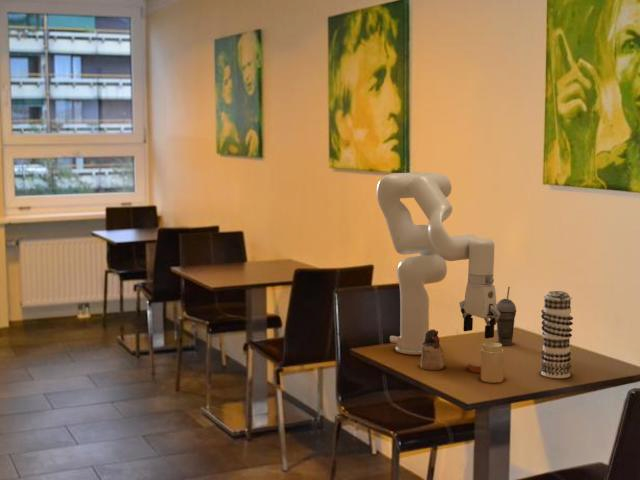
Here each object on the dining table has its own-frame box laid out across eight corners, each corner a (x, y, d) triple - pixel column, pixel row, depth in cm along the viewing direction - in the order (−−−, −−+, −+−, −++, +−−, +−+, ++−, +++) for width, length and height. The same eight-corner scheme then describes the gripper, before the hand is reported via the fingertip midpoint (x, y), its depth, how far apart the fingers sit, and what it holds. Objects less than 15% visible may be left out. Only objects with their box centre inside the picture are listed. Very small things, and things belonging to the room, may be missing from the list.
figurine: (437, 363, 282) (437, 326, 280) (447, 368, 275) (448, 330, 274) (416, 365, 279) (416, 327, 278) (427, 371, 273) (427, 332, 271)
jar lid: (496, 370, 273) (496, 364, 273) (479, 373, 269) (479, 367, 269) (480, 365, 279) (481, 359, 278) (464, 368, 275) (464, 362, 275)
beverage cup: (502, 340, 312) (503, 283, 310) (520, 343, 307) (521, 286, 304) (489, 343, 307) (490, 286, 305) (507, 347, 302) (508, 289, 299)
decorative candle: (535, 370, 272) (537, 290, 269) (564, 369, 273) (567, 289, 270) (545, 379, 263) (547, 295, 260) (576, 378, 264) (578, 294, 261)
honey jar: (477, 381, 262) (478, 345, 260) (484, 375, 268) (484, 340, 266) (500, 383, 259) (500, 348, 258) (505, 378, 265) (506, 343, 263)
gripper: (509, 283, 266) (507, 339, 268) (471, 273, 280) (469, 326, 283) (490, 285, 262) (488, 342, 264) (452, 275, 276) (450, 329, 279)
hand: (478, 334), depth 273 cm, fingers open, 9 cm apart
